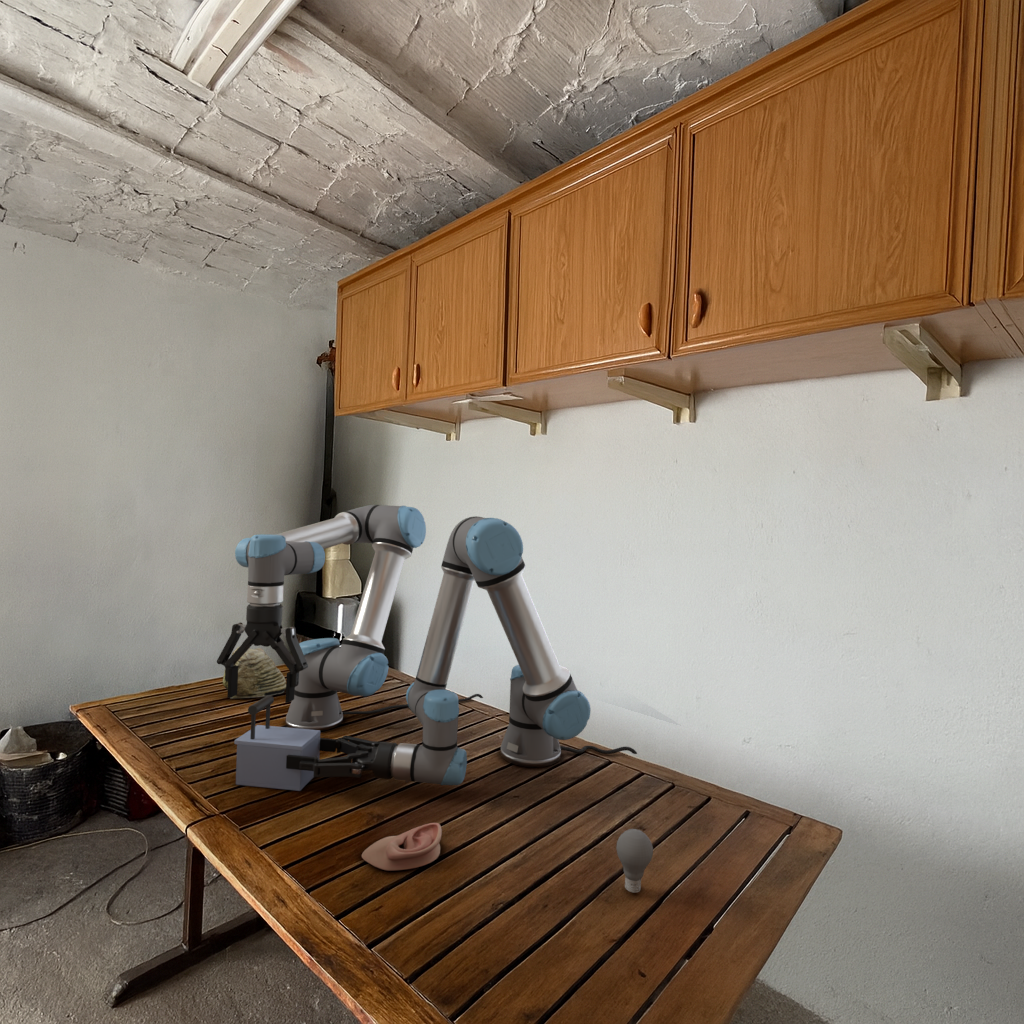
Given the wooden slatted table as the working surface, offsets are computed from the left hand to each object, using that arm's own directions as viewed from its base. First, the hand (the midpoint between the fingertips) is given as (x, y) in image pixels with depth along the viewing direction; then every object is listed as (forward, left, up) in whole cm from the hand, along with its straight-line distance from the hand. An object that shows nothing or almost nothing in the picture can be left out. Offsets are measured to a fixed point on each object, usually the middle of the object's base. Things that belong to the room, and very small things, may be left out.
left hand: (260, 698), depth 142 cm
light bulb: (-20, +83, -18) cm, 87 cm away
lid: (-3, +4, -9) cm, 10 cm away
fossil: (-29, -54, -18) cm, 63 cm away
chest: (-3, +4, -18) cm, 18 cm away
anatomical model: (-1, +47, -18) cm, 50 cm away
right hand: (-5, +8, -11) cm, 15 cm away
